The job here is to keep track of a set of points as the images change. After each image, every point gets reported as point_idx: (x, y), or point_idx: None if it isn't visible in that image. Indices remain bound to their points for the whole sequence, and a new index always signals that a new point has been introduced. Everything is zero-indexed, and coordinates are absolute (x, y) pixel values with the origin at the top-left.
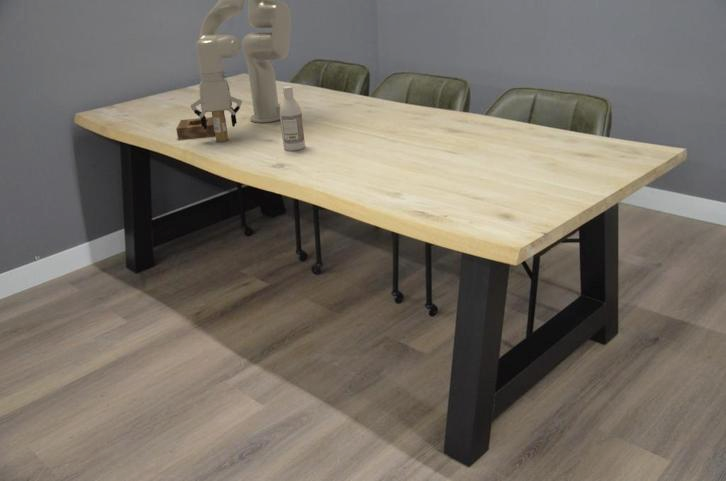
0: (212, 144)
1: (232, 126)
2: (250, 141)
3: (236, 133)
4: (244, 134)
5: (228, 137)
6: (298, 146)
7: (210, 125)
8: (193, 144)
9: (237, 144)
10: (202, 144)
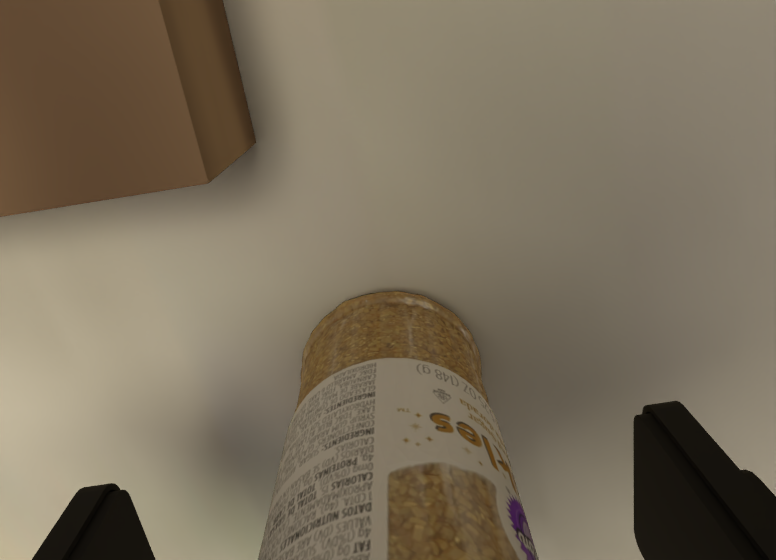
0: None
1: (635, 530)
2: (766, 467)
3: (546, 41)
4: (686, 132)
5: (480, 366)
6: None
7: (81, 201)
8: (51, 478)
9: (615, 545)
10: (176, 493)
